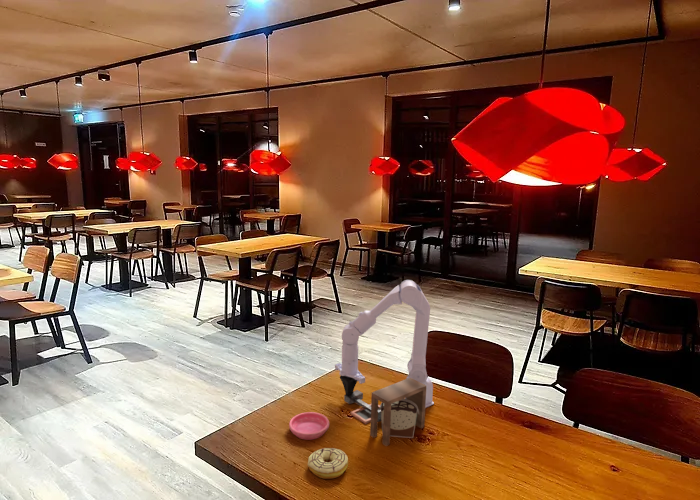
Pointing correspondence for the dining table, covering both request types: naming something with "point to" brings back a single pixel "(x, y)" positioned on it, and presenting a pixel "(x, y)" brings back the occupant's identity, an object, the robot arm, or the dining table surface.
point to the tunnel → (393, 394)
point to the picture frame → (363, 414)
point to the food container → (402, 418)
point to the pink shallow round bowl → (309, 425)
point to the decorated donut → (328, 463)
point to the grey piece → (359, 401)
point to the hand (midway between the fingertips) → (349, 394)
